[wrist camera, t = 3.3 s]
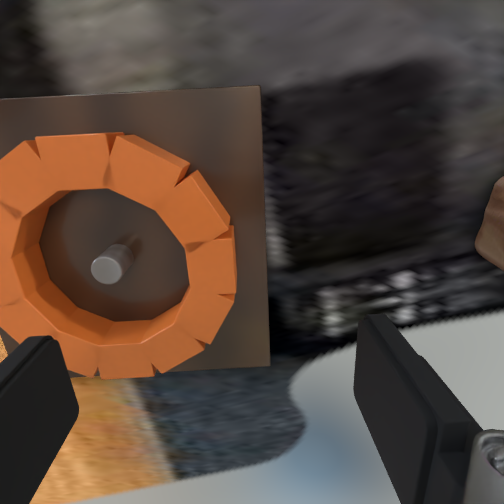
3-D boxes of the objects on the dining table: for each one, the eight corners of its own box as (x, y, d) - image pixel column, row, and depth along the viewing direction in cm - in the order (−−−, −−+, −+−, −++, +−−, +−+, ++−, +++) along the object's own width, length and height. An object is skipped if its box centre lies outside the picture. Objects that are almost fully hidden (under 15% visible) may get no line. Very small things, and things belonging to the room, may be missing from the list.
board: (259, 86, 16) (262, 79, 14) (269, 358, 23) (273, 388, 20) (-77, 104, 16) (-138, 100, 14) (25, 372, 22) (-4, 405, 20)
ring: (226, 126, 16) (223, 126, 14) (242, 345, 21) (242, 371, 19) (-41, 140, 16) (-86, 142, 14) (36, 357, 21) (12, 385, 19)
